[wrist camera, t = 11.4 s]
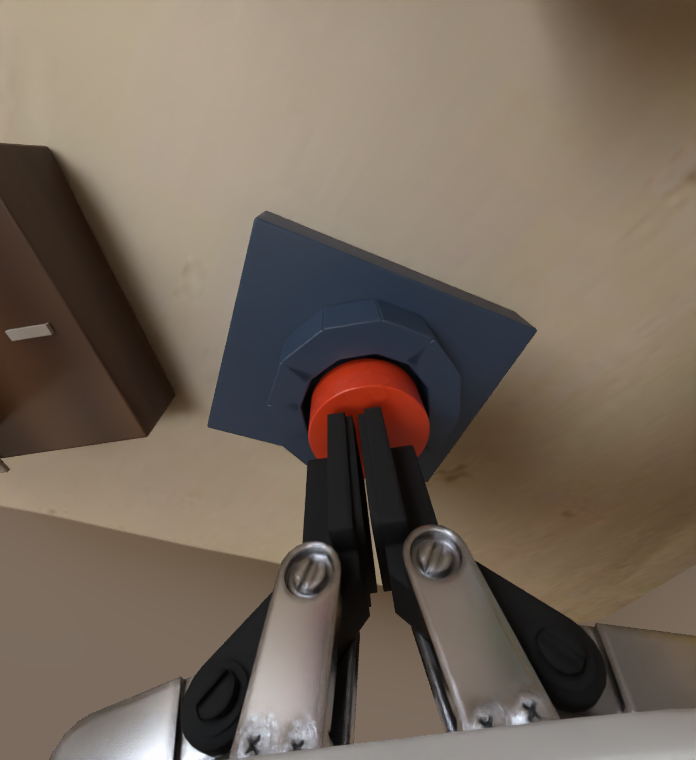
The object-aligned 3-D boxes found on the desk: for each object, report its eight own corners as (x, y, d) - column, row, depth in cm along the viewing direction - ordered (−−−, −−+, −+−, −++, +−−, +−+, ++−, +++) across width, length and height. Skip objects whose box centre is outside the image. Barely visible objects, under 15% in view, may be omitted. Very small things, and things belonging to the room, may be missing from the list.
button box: (515, 311, 15) (569, 354, 11) (418, 455, 19) (437, 517, 16) (264, 209, 12) (239, 226, 9) (218, 401, 17) (190, 461, 13)
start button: (438, 377, 12) (453, 406, 11) (390, 455, 14) (397, 489, 13) (332, 342, 11) (333, 369, 10) (297, 430, 13) (292, 464, 12)
